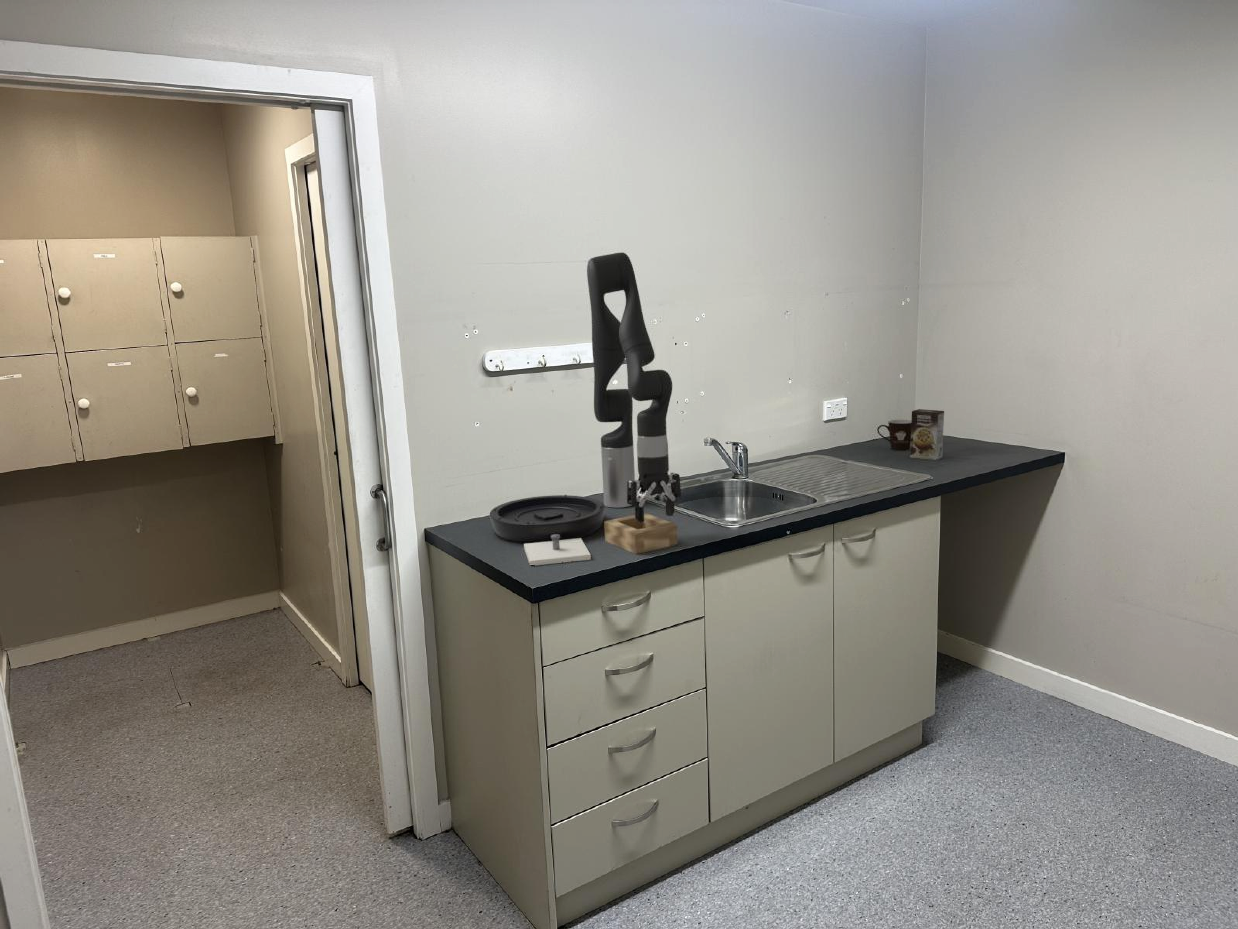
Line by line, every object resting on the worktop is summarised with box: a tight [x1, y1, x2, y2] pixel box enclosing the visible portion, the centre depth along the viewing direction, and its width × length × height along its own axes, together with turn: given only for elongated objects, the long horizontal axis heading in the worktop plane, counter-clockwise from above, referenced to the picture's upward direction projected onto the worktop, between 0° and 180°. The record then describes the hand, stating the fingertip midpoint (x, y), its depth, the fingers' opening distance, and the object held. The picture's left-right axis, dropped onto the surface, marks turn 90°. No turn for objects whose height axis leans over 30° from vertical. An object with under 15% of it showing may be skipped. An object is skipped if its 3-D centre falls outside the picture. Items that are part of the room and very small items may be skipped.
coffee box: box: [909, 408, 945, 461], centre depth 289 cm, size 9×6×16 cm
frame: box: [603, 512, 679, 555], centre depth 207 cm, size 14×12×5 cm
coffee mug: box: [876, 419, 912, 452], centre depth 306 cm, size 12×9×10 cm
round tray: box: [489, 494, 606, 544], centre depth 223 cm, size 30×6×30 cm
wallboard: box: [523, 534, 592, 566], centre depth 201 cm, size 14×14×4 cm
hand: (655, 518), depth 209 cm, fingers open, 8 cm apart
